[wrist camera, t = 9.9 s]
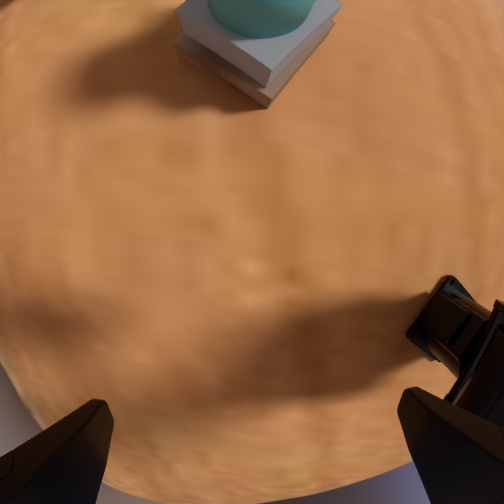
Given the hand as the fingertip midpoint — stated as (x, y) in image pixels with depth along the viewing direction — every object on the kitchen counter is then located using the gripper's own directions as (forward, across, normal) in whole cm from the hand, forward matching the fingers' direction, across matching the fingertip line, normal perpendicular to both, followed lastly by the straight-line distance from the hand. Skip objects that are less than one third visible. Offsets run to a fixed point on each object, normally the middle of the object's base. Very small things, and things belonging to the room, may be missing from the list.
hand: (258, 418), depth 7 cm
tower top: (+10, -1, -16) cm, 19 cm away
